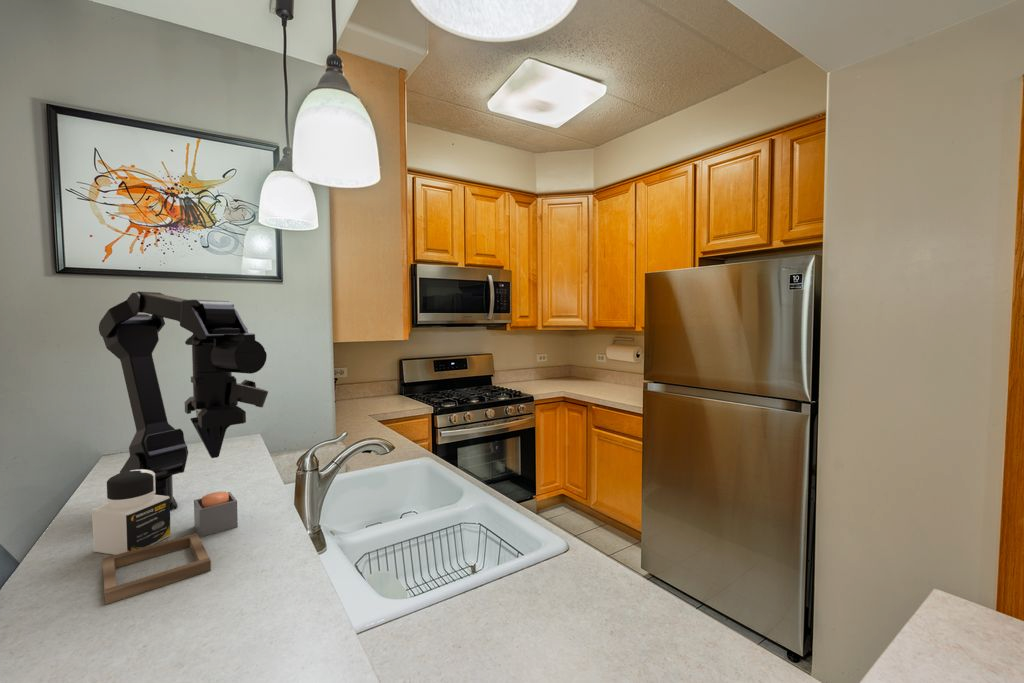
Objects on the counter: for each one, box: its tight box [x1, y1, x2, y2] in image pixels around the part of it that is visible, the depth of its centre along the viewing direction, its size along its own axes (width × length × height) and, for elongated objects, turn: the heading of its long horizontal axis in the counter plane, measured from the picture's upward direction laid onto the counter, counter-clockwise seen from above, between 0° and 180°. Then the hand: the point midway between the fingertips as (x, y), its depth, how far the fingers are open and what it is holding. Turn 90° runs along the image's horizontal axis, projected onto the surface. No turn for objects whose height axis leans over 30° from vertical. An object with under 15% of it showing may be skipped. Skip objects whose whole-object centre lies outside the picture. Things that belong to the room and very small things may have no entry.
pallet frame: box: [102, 532, 212, 605], centre depth 65 cm, size 12×12×2 cm
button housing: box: [193, 491, 239, 538], centre depth 79 cm, size 6×6×5 cm
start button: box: [201, 491, 229, 508], centre depth 79 cm, size 4×4×2 cm
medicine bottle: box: [91, 469, 172, 556], centre depth 72 cm, size 7×7×12 cm
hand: (214, 457), depth 78 cm, fingers closed
